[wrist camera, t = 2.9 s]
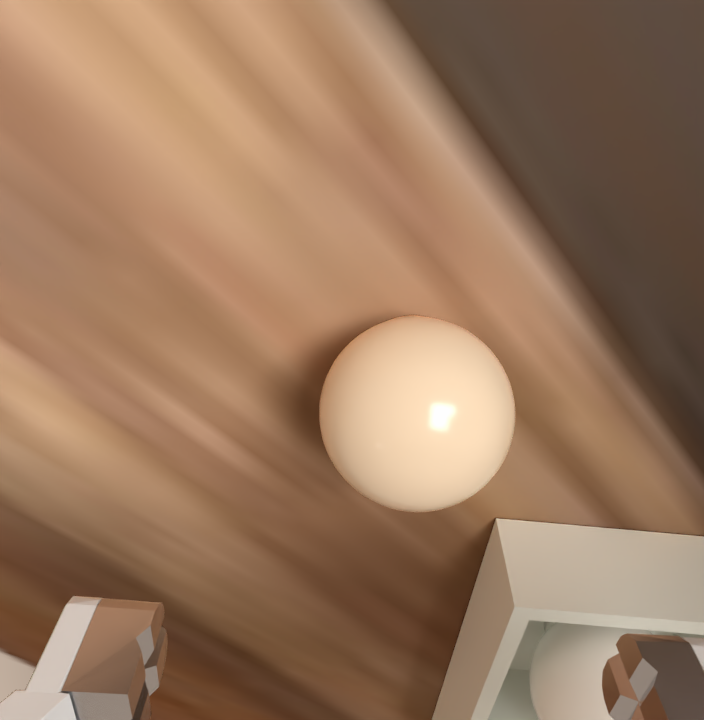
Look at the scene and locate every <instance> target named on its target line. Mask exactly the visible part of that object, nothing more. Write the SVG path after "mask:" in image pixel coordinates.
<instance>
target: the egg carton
mask: <svg viewBox="0 0 704 720" xmlns="http://www.w3.org/2000/svg"><path fill="white" fill-rule="evenodd" d="M544 621H545V622H557V623H569V624H581V625H593V626H604V627H616V628H628V629H640V630H649V631H650V632H651V633H652V634H653V635H670V636H679V637H692V638H704V536H693V535H681V534H670V533H658V532H647V531H636V530H624V529H613V528H601V527H590V526H579V525H567V524H556V523H545V522H533V521H522V520H510V519H499V518H496V520H495V523H494V526H493V529H492V532H491V536H490V539H489V542H488V545H487V548H486V551H485V554H484V557H483V561H482V564H481V567H480V570H479V573H478V576H477V579H476V583H475V586H474V589H473V592H472V595H471V598H470V601H469V604H468V608H467V611H466V614H465V617H464V620H463V623H462V626H461V630H460V633H459V636H458V639H457V642H456V645H455V648H454V651H453V655H452V658H451V661H450V664H449V667H448V670H447V673H446V677H445V680H444V683H443V686H442V689H441V692H440V695H439V698H438V702H437V705H436V708H435V711H434V714H433V717H432V720H539V719H538V716H537V714H536V711H535V709H534V706H533V702H532V699H531V693H530V686H529V672H530V664H531V659H532V656H533V653H534V650H535V647H536V645H537V643H538V642H539V640H540V638H541V637H542V636H543V634H544V633H545V630H544Z"/></svg>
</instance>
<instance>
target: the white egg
mask: <svg viewBox="0 0 704 720" xmlns="http://www.w3.org/2000/svg"><path fill="white" fill-rule="evenodd" d="M544 630H545V633H544V634H543V636H542V637H541V638H540V640H539V642H538V643H537V645H536V647H535V650H534V653H533V656H532V659H531V664H530V672H529V686H530V693H531V699H532V702H533V706H534V709H535V711H536V714H537V716H538V719H539V720H613V719H612V717H611V716H610V715H609V713H608V710H607V707H606V704H605V701H604V696H603V690H602V672H603V669H604V667H605V665H606V662H607V660H608V659H609V658H611V657H613V656H615V655H617V654H618V653H619V652H618V649H617V646H616V643H617V642H618V640H619V638H620V636H622V635H624V634H627V633H629V634H649V635H653V634H652V633H651V632H650V631H649V630H640V629H628V628H616V627H604V626H593V625H581V624H569V623H557V622H545V621H544Z"/></svg>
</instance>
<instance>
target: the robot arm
mask: <svg viewBox="0 0 704 720" xmlns="http://www.w3.org/2000/svg"><path fill="white" fill-rule="evenodd" d="M164 615H165V613H164V607H163V603H159V602H146V601H133V600H120V599H107V598H99V597H83V596H73V597H72V598H71V599H70V600H69V602H68V603H67V604H66V605H65V607H64V609H63V611H62V613H61V615H60V617H59V620H58V622H57V624H56V626H55V628H54V630H53V632H52V634H51V636H50V638H49V641H48V643H47V645H46V647H45V649H44V651H43V653H42V655H41V657H40V659H39V662H38V664H37V666H36V668H35V670H34V672H33V674H32V676H31V678H30V681H29V683H28V685H27V687H26V689H25V690H15V691H14V692H13V693H11V694H10V695H9V696H8V697H7V698H5V699H4V700H3V701H2V702H1V703H0V720H150V717H151V714H152V713H151V706H150V699H149V696H150V695H151V694H152V693H153V692H154V691H155V690H156V689H157V688H158V687H159V686H160V682H161V678H162V675H163V671H164V666H165V660H166V654H167V640H168V639H167V630H166V629H164V628H163V627H162V626H161V625H162V622H163V619H164ZM616 646H617V649H618V652H619V653H618V654H617V655H615V656H613V657H611V658H609V659H608V660H607V662H606V665H605V667H604V669H603V672H602V690H603V696H604V701H605V704H606V707H607V710H608V713H609V715H610V716H611V717H612V719H613V720H704V638H692V637H679V636H670V635H649V634H629V633H627V634H624V635H622V636H620V638H619V640H618V642H617V643H616Z"/></svg>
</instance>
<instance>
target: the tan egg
mask: <svg viewBox="0 0 704 720" xmlns="http://www.w3.org/2000/svg"><path fill="white" fill-rule="evenodd" d="M319 422H320V428H321V433H322V439H323V442H324V445H325V448H326V450H327V453H328V455H329V457H330V459H331V461H332V463H333V465H334V466H335V467H336V469H337V470H338V472H339V473H340V474H341V476H342V477H343V478H344V479H345V480H346V481H347V482H348V483H349V484H350V485H351V486H352V487H353V488H354V489H355V490H356V491H358V492H359V493H360V494H362V495H363V496H365V497H366V498H368V499H370V500H372V501H374V502H376V503H378V504H380V505H382V506H385V507H388V508H391V509H395V510H400V511H407V512H429V511H436V510H441V509H445V508H448V507H451V506H454V505H456V504H459V503H461V502H463V501H464V500H466V499H468V498H470V497H471V496H473V495H474V494H475V493H477V492H478V491H479V490H481V489H482V488H483V487H484V486H485V485H486V484H487V483H488V482H489V481H490V480H491V479H492V478H493V476H494V475H495V474H496V473H497V471H498V470H499V468H500V467H501V465H502V463H503V462H504V460H505V458H506V456H507V453H508V451H509V448H510V446H511V442H512V438H513V433H514V429H515V403H514V397H513V392H512V388H511V385H510V382H509V379H508V377H507V375H506V373H505V371H504V369H503V367H502V365H501V363H500V362H499V360H498V359H497V358H496V356H495V355H494V354H493V352H492V351H491V350H490V349H489V348H488V347H487V346H486V345H485V344H484V343H483V342H482V341H481V340H480V339H478V338H477V337H476V336H474V335H473V334H472V333H471V332H469V331H467V330H465V329H464V328H462V327H460V326H458V325H455V324H453V323H450V322H447V321H444V320H440V319H437V318H431V317H426V316H420V315H406V316H400V317H396V318H393V319H390V320H388V321H385V322H382V323H380V324H378V325H375V326H373V327H371V328H369V329H368V330H366V331H364V332H363V333H361V334H360V335H358V336H357V337H356V338H355V339H353V340H352V341H351V342H350V343H349V344H348V345H347V346H346V347H345V348H344V349H343V350H342V352H341V353H340V354H339V355H338V357H337V358H336V360H335V361H334V363H333V364H332V366H331V368H330V370H329V372H328V374H327V376H326V379H325V382H324V385H323V388H322V393H321V398H320V406H319Z"/></svg>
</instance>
